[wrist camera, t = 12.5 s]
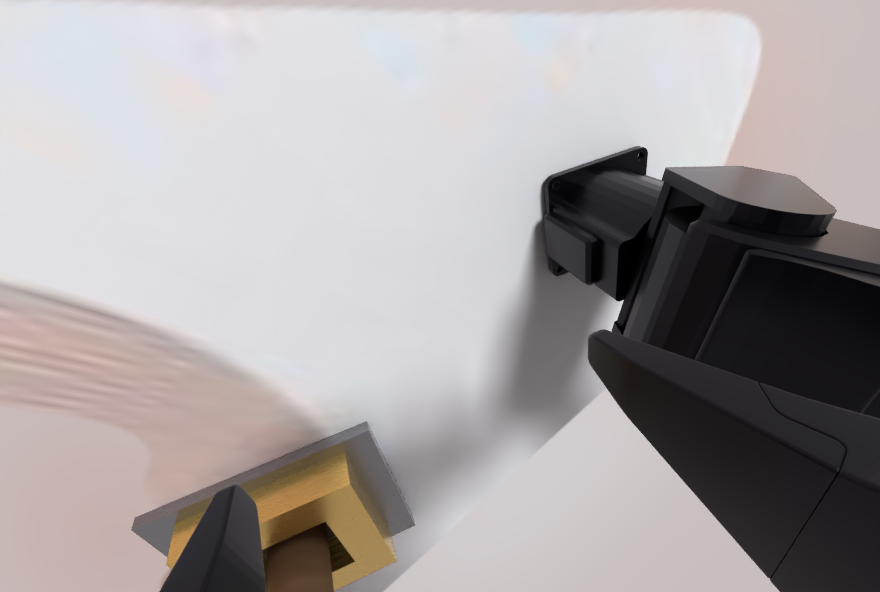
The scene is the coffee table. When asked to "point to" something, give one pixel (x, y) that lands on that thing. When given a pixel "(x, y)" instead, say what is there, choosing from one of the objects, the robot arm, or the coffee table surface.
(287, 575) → the pin
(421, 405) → the coffee table surface
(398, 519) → the socket
